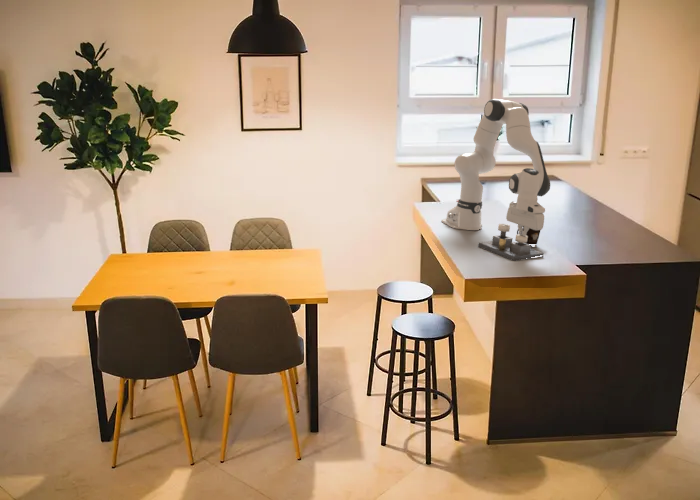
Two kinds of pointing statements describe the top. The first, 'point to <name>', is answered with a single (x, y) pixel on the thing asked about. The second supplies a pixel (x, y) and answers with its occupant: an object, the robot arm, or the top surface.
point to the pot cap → (502, 243)
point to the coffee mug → (532, 236)
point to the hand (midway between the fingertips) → (522, 235)
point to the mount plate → (510, 249)
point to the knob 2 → (521, 239)
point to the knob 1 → (503, 229)
